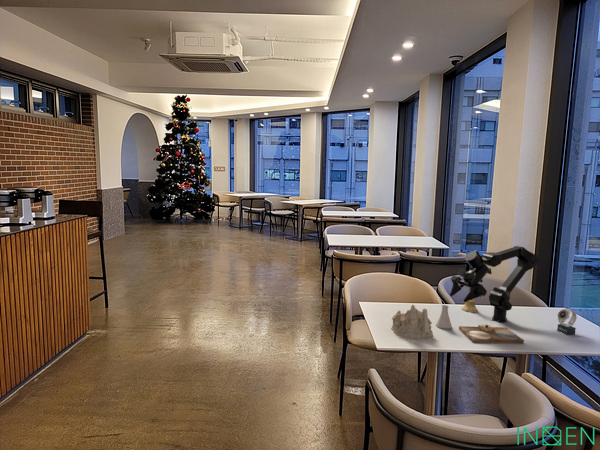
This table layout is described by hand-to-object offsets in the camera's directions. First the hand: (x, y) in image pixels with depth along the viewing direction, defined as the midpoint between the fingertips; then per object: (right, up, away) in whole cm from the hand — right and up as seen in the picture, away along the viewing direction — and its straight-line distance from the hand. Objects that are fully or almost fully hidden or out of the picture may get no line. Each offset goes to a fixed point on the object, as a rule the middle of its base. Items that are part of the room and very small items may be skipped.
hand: (457, 298), depth 198 cm
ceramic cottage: (-24, -14, -10) cm, 29 cm away
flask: (-7, -13, -1) cm, 15 cm away
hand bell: (+16, -11, +25) cm, 32 cm away
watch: (+49, -15, -4) cm, 51 cm away
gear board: (+10, -15, -11) cm, 21 cm away
